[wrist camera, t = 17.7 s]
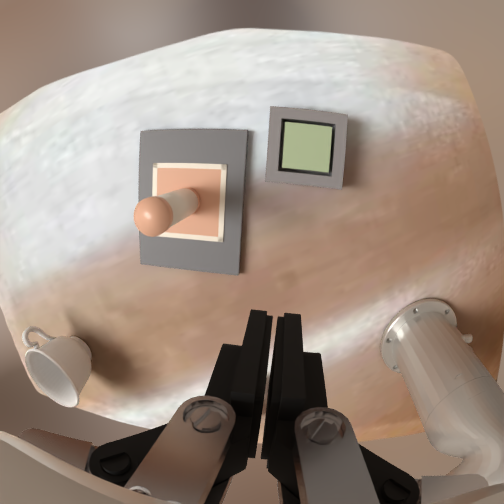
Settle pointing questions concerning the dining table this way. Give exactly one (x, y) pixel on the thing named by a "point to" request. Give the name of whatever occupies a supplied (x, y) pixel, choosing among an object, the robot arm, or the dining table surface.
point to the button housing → (298, 175)
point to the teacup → (58, 366)
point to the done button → (307, 147)
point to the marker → (165, 210)
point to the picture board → (209, 189)
